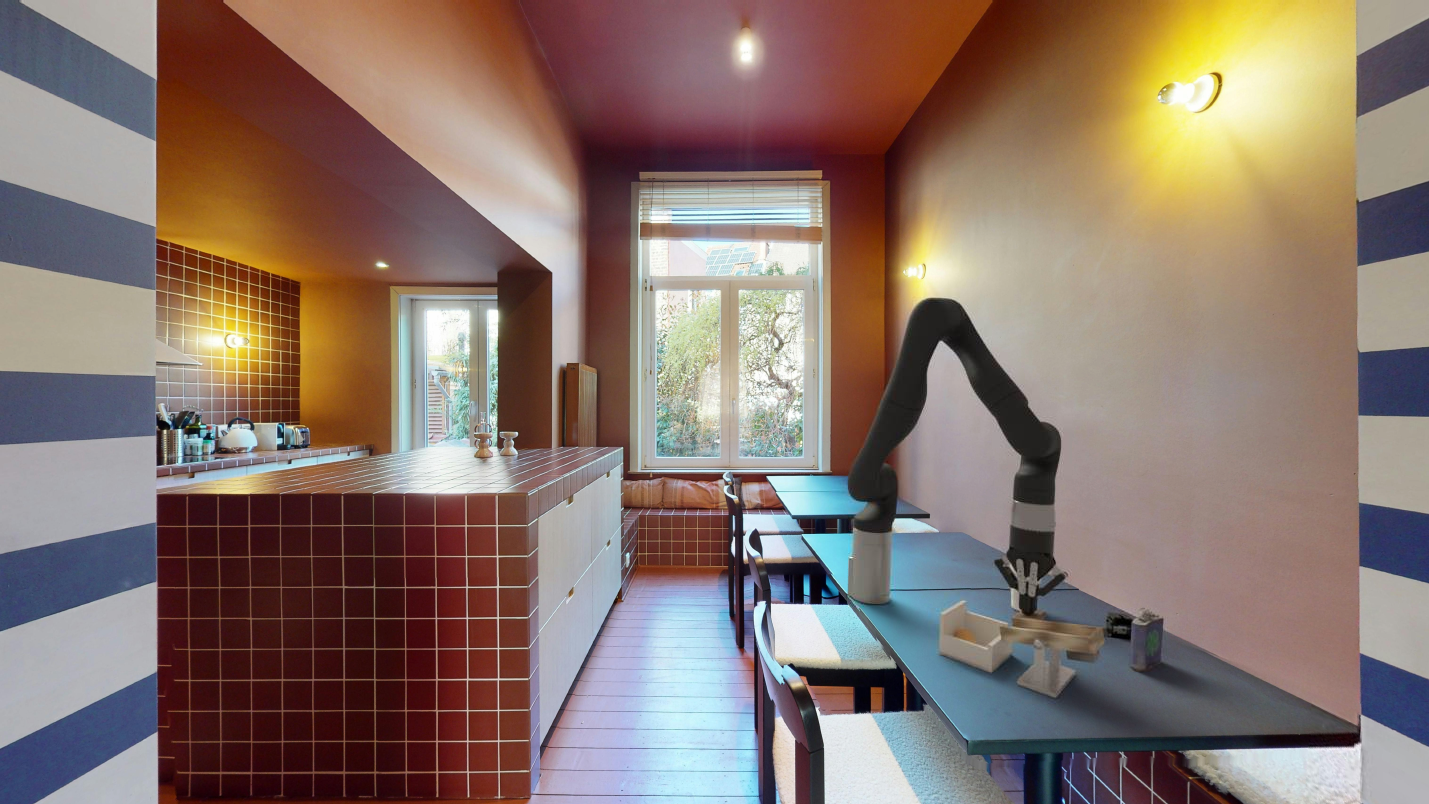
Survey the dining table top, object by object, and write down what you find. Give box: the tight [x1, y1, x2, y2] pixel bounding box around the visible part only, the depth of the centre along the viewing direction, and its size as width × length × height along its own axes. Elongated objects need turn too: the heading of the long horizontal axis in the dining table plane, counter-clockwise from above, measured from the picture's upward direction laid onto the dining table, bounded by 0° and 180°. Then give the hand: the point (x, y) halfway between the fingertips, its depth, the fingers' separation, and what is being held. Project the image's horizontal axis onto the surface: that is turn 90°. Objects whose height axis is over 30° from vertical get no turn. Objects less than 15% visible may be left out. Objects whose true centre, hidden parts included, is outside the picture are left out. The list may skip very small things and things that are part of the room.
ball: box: [955, 629, 975, 643], centre depth 112 cm, size 4×4×4 cm
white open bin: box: [938, 600, 1013, 674], centre depth 110 cm, size 10×11×8 cm
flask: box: [1129, 607, 1164, 673], centre depth 108 cm, size 9×3×11 cm, turn 121°
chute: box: [1000, 610, 1105, 664], centre depth 103 cm, size 15×13×4 cm
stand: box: [1016, 638, 1076, 699], centre depth 101 cm, size 6×12×9 cm, turn 134°
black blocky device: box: [1102, 611, 1134, 641], centre depth 122 cm, size 12×7×5 cm, turn 76°
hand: (1027, 613), depth 109 cm, fingers closed
